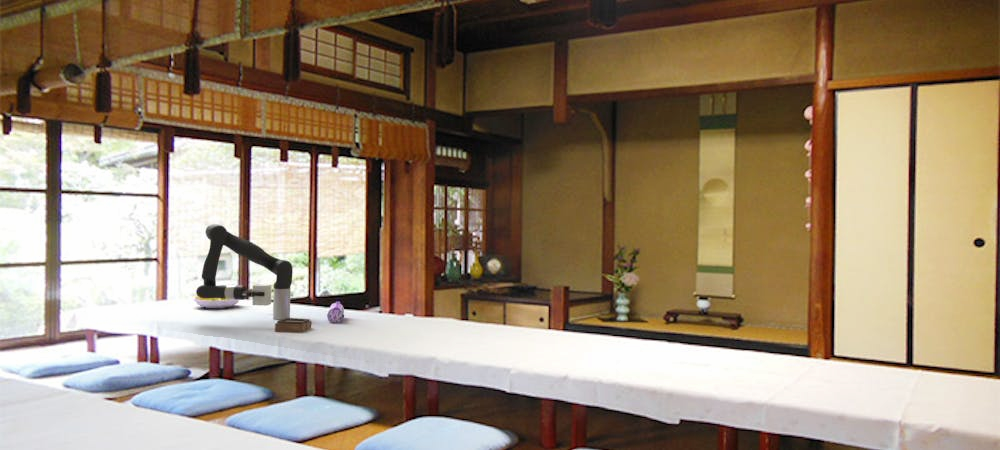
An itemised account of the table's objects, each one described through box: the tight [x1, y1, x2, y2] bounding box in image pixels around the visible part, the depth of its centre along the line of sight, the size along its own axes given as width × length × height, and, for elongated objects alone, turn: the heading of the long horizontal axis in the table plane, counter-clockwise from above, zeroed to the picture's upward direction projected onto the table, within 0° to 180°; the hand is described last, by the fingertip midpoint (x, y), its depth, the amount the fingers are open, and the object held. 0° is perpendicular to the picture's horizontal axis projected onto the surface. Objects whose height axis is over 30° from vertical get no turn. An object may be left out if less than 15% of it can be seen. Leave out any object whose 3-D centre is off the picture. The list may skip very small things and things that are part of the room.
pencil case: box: [326, 301, 345, 324], centre depth 400 cm, size 22×9×10 cm, turn 13°
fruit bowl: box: [193, 294, 240, 309], centre depth 440 cm, size 28×27×11 cm
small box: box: [252, 284, 272, 307], centre depth 374 cm, size 8×6×10 cm
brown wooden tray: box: [274, 317, 312, 333], centre depth 366 cm, size 14×14×5 cm
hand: (266, 293), depth 374 cm, fingers closed on small box, 5 cm apart
